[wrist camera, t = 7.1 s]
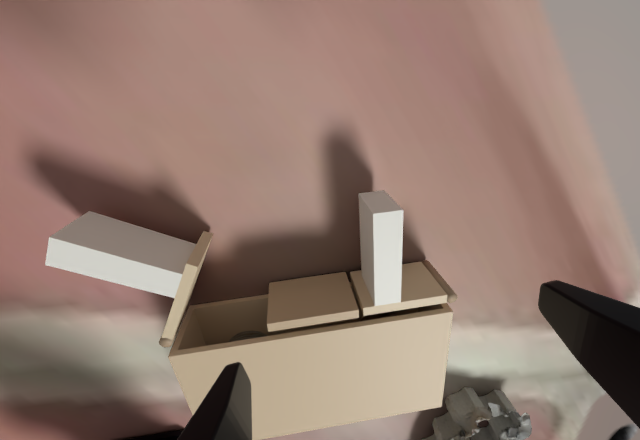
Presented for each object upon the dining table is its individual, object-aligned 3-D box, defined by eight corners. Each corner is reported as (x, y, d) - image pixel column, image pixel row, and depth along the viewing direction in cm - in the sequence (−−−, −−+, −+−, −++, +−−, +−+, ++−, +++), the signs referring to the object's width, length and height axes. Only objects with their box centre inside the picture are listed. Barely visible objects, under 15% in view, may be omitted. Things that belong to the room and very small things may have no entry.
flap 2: (350, 279, 22) (363, 316, 18) (345, 191, 19) (359, 215, 15) (429, 267, 22) (456, 301, 18) (435, 180, 19) (469, 201, 16)
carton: (218, 391, 25) (207, 449, 21) (185, 293, 21) (162, 342, 17) (417, 357, 26) (441, 406, 22) (423, 258, 22) (454, 297, 18)
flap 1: (188, 304, 21) (170, 348, 17) (81, 277, 19) (37, 319, 16) (213, 234, 19) (199, 267, 15) (97, 196, 17) (50, 224, 14)
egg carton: (453, 379, 28) (479, 423, 25) (516, 388, 30) (549, 430, 26) (407, 449, 32) (423, 496, 28) (465, 453, 34) (488, 498, 30)
